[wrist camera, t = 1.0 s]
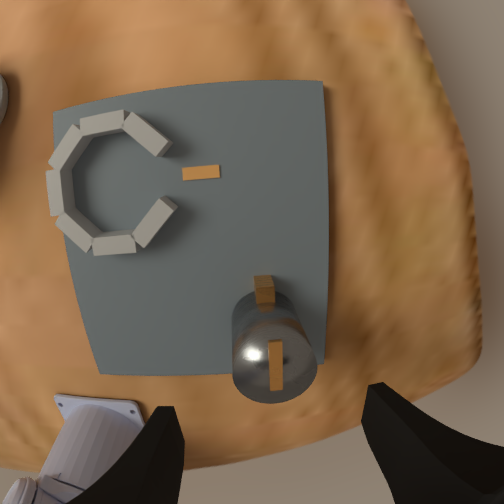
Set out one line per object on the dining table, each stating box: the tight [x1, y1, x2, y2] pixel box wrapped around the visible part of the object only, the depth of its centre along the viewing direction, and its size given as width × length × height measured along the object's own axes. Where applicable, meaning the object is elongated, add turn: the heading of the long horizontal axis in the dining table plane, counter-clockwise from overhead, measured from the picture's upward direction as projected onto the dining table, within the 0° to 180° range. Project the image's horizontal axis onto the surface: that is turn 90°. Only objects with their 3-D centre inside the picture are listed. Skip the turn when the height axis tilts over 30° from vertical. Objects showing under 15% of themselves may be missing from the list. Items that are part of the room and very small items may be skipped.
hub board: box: [46, 80, 329, 376], centre depth 17 cm, size 18×16×2 cm
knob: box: [231, 275, 317, 404], centre depth 17 cm, size 5×4×6 cm
